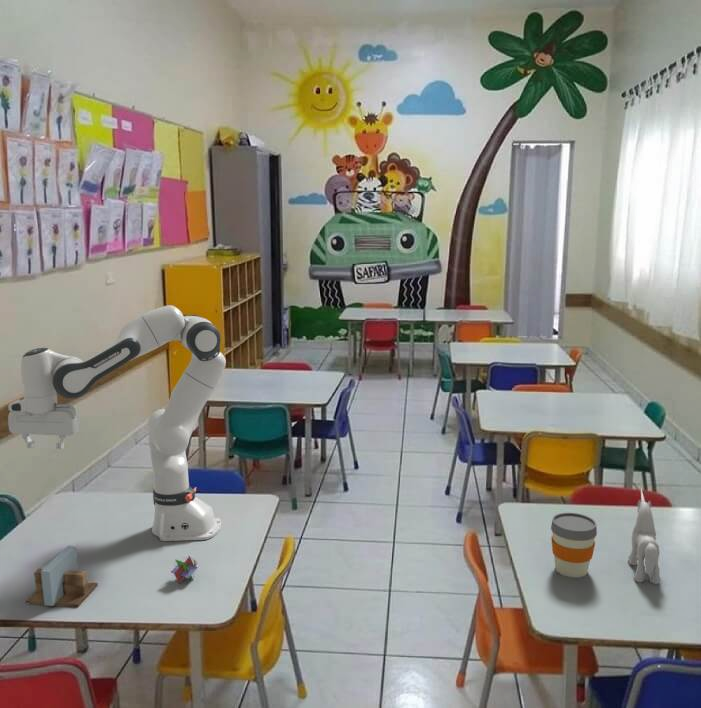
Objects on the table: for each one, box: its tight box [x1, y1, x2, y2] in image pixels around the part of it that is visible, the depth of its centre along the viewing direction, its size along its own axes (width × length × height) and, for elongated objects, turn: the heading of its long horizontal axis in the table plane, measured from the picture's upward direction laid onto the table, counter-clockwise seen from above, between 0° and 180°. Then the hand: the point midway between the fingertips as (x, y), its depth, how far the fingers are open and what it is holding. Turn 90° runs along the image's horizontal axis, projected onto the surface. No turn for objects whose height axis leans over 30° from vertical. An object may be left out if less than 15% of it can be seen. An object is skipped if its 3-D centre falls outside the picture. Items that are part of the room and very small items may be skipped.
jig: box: [25, 567, 99, 608], centre depth 194 cm, size 15×11×7 cm
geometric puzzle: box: [170, 555, 199, 585], centre depth 201 cm, size 7×7×8 cm
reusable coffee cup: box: [550, 512, 598, 578], centre depth 203 cm, size 13×13×15 cm
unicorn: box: [627, 488, 661, 585], centre depth 204 cm, size 8×25×20 cm, turn 167°
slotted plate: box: [41, 545, 80, 607], centre depth 193 cm, size 14×2×10 cm, turn 173°
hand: (45, 448), depth 210 cm, fingers open, 8 cm apart
